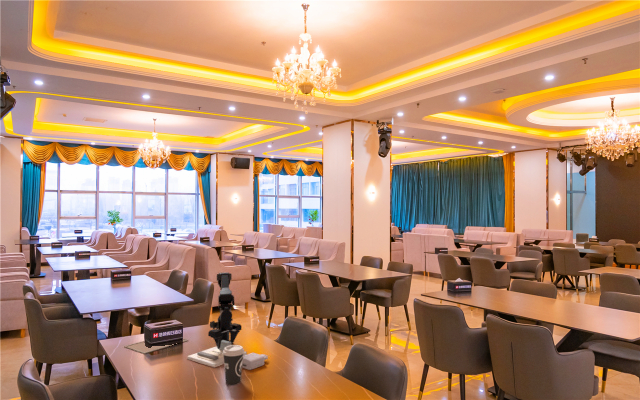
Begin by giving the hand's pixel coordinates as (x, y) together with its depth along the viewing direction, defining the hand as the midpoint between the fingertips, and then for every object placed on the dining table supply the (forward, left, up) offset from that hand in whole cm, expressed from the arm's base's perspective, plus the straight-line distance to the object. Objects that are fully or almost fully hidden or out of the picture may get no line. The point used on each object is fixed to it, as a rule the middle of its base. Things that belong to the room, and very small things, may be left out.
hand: (225, 346), depth 226 cm
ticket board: (+5, 0, -4) cm, 7 cm away
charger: (+1, +23, -4) cm, 23 cm away
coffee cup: (+23, +30, -4) cm, 38 cm away
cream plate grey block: (0, 0, -2) cm, 2 cm away
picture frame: (+10, -44, -5) cm, 45 cm away
